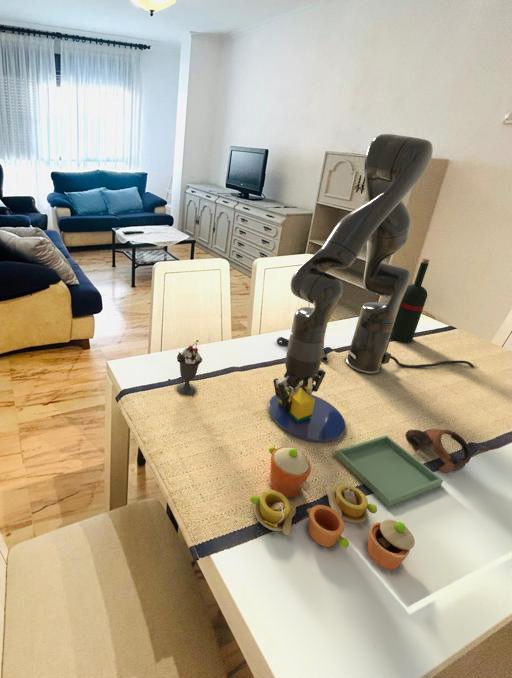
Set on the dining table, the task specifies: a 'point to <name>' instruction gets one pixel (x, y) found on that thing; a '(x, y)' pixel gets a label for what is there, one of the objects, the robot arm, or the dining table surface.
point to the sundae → (188, 368)
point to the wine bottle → (410, 308)
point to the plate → (310, 421)
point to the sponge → (301, 405)
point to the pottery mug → (439, 446)
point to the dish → (388, 470)
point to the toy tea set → (327, 511)
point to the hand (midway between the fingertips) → (294, 407)
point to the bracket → (285, 343)
